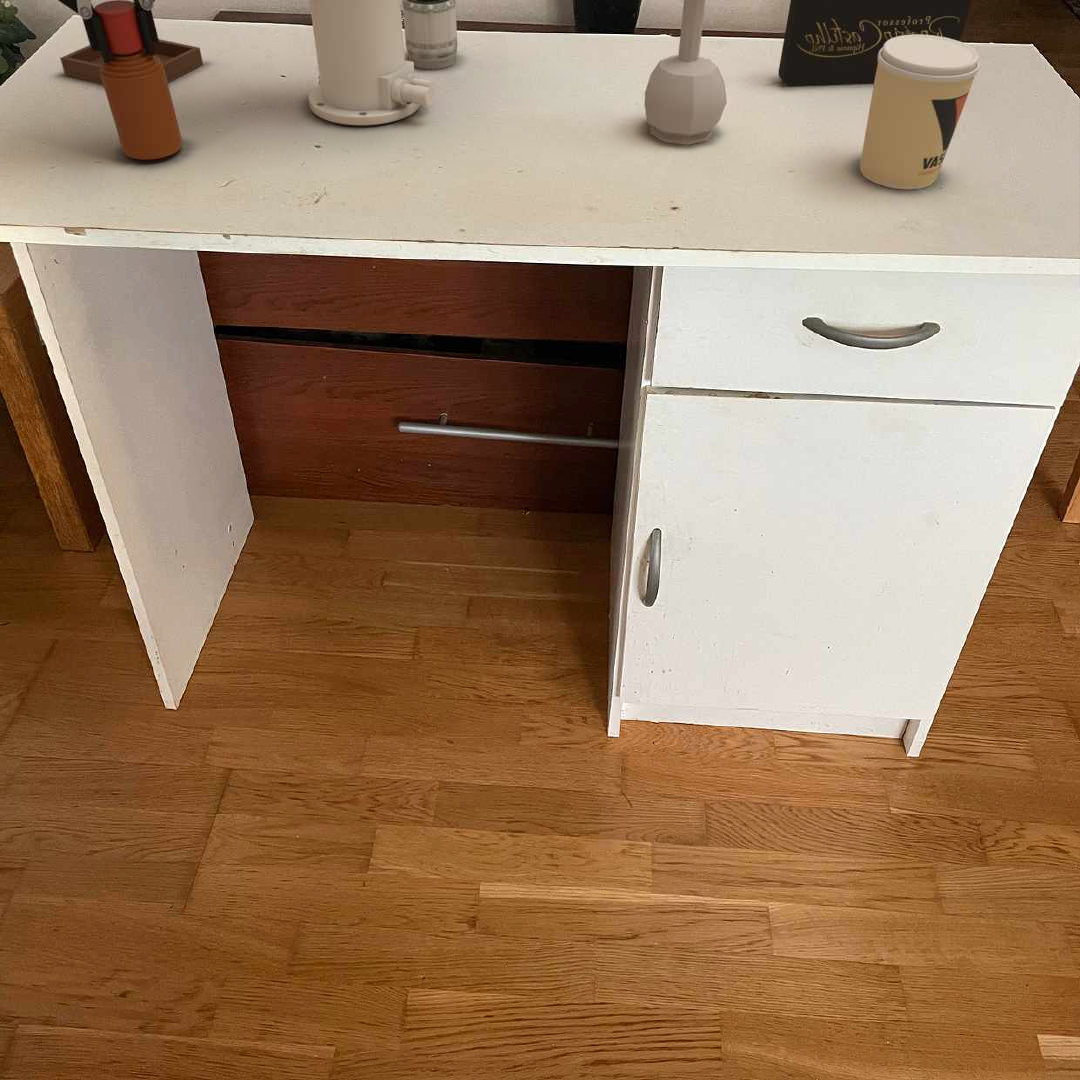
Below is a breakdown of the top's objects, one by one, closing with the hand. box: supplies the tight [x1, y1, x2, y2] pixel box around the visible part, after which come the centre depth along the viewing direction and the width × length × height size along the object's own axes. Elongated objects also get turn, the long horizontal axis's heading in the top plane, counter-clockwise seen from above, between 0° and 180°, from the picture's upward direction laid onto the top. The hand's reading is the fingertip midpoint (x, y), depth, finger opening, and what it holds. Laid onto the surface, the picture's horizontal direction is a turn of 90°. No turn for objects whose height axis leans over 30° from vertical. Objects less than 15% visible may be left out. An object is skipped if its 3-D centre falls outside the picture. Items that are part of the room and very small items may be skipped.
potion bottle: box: [644, 0, 728, 145], centre depth 104 cm, size 9×9×18 cm
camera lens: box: [401, 0, 458, 70], centre depth 122 cm, size 6×6×8 cm
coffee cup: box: [859, 35, 981, 191], centre depth 100 cm, size 9×9×12 cm
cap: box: [94, 0, 145, 54], centre depth 97 cm, size 4×4×4 cm
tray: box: [60, 38, 204, 85], centre depth 120 cm, size 12×10×2 cm
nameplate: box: [777, 0, 973, 88], centre depth 118 cm, size 21×2×10 cm, turn 98°
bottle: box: [99, 49, 184, 160], centre depth 100 cm, size 6×6×13 cm
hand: (127, 52), depth 98 cm, fingers closed on cap, 3 cm apart
